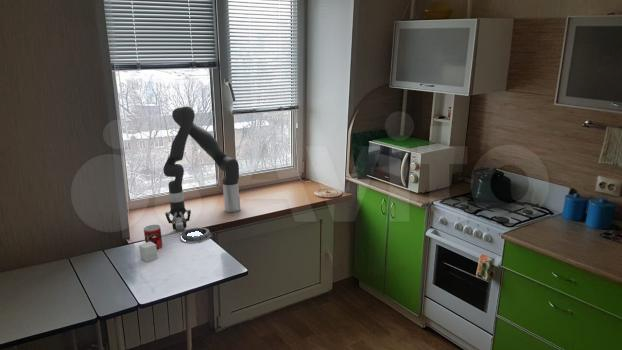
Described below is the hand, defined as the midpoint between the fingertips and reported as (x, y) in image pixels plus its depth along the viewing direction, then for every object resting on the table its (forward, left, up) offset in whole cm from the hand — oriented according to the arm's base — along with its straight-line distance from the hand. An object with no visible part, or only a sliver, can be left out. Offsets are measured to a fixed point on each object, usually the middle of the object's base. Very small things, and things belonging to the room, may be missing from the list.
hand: (179, 228), depth 258 cm
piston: (0, 0, -1) cm, 1 cm away
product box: (+15, +33, -1) cm, 36 cm away
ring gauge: (-8, +13, -1) cm, 15 cm away
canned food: (+13, +20, -1) cm, 24 cm away
